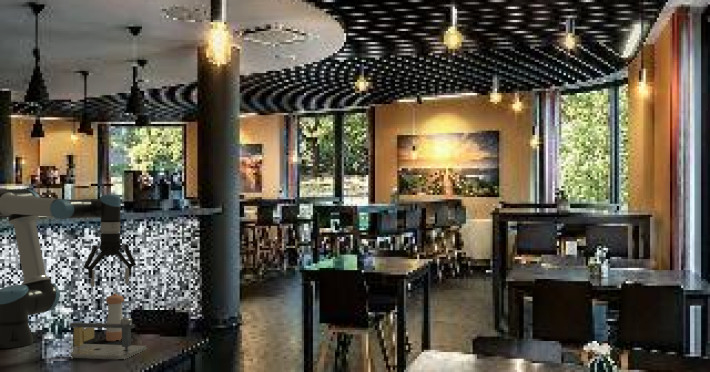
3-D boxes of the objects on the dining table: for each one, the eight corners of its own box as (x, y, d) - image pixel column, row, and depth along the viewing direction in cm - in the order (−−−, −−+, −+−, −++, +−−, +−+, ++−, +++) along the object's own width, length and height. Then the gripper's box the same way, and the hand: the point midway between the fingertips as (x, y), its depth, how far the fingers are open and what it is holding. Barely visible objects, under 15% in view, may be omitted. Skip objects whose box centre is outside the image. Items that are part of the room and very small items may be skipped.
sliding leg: (73, 347, 257) (73, 327, 257) (87, 342, 266) (87, 323, 266) (80, 348, 256) (80, 327, 256) (94, 342, 265) (94, 323, 265)
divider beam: (68, 348, 256) (68, 318, 257) (74, 345, 260) (74, 316, 261) (131, 350, 251) (130, 320, 252) (136, 348, 255) (136, 318, 255)
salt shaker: (120, 336, 286) (120, 291, 287) (127, 339, 281) (126, 293, 281) (103, 339, 282) (103, 293, 282) (109, 342, 276) (109, 295, 276)
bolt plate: (56, 357, 251) (56, 352, 251) (81, 347, 266) (81, 343, 266) (124, 359, 245) (124, 355, 245) (146, 349, 261) (146, 345, 261)
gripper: (80, 234, 262) (80, 288, 262) (144, 232, 277) (143, 283, 277) (75, 233, 268) (75, 286, 268) (138, 231, 283) (137, 281, 283)
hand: (110, 285), depth 273 cm, fingers open, 13 cm apart
